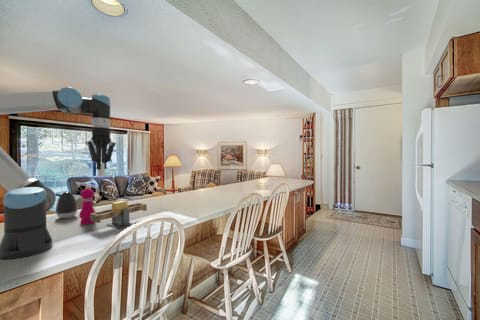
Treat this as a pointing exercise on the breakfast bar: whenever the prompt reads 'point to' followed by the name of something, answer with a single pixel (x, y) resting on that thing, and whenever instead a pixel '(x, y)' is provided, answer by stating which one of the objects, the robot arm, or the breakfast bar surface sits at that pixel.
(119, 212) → the beam
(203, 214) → the breakfast bar surface
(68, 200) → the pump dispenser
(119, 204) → the block
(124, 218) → the fulcrum
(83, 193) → the magenta figurine
